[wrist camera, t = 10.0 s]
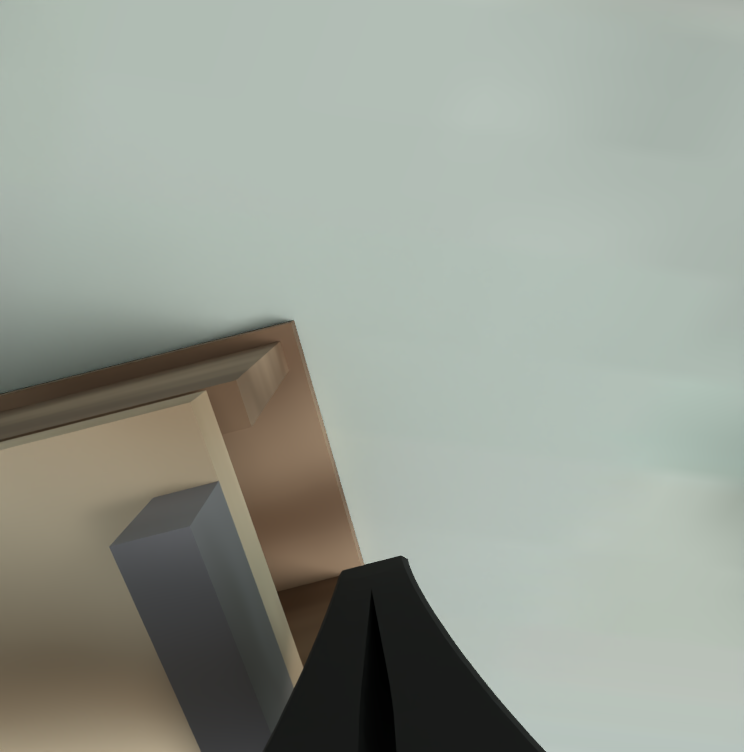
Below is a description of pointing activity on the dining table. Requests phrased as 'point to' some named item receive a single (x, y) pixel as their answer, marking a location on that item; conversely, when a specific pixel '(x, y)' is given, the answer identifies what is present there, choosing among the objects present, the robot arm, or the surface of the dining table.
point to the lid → (136, 591)
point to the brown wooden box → (236, 449)
